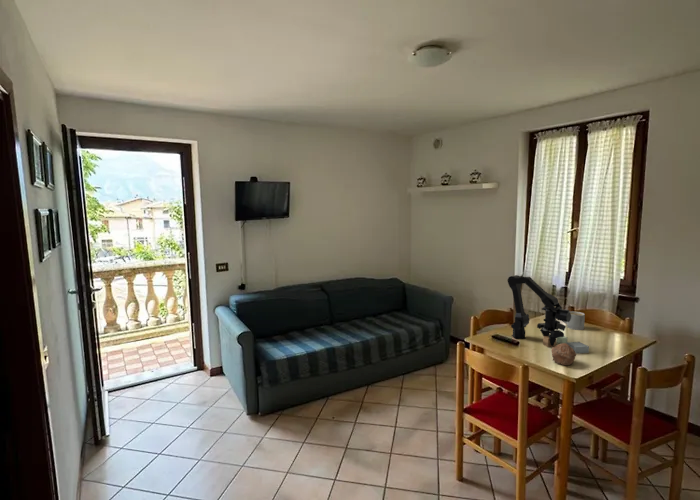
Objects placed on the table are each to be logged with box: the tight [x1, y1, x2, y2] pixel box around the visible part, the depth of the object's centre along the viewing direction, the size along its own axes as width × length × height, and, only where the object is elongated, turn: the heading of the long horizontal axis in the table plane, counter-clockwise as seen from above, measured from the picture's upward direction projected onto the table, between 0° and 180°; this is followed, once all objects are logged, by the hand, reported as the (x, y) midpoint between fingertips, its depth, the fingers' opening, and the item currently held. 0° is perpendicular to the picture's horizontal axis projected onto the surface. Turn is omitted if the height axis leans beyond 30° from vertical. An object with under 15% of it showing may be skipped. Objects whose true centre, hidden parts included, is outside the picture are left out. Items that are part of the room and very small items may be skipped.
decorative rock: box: [550, 343, 577, 366], centre depth 200 cm, size 13×11×10 cm
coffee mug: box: [561, 311, 586, 331], centre depth 260 cm, size 13×10×10 cm
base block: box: [566, 341, 590, 355], centre depth 217 cm, size 8×8×4 cm
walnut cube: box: [542, 335, 557, 348], centre depth 226 cm, size 5×5×5 cm
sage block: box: [556, 335, 569, 344], centre depth 230 cm, size 4×4×4 cm
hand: (549, 343), depth 226 cm, fingers closed on walnut cube, 5 cm apart
